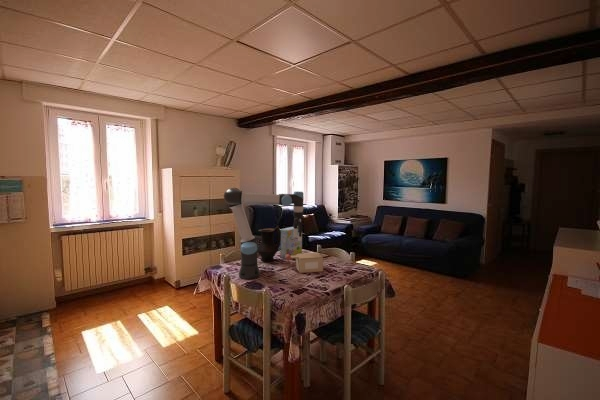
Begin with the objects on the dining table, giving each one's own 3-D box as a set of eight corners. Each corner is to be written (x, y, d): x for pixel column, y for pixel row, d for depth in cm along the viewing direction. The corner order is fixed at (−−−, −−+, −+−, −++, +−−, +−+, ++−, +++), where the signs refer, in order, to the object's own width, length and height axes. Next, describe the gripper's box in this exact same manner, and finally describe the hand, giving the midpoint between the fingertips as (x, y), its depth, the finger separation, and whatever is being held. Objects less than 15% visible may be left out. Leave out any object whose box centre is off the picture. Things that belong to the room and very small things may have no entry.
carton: (299, 272, 213) (299, 259, 212) (295, 267, 226) (295, 254, 226) (323, 271, 217) (323, 258, 216) (317, 265, 231) (317, 253, 230)
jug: (252, 263, 237) (251, 227, 234) (261, 256, 254) (261, 223, 252) (276, 265, 231) (275, 228, 228) (284, 258, 248) (283, 224, 246)
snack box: (287, 259, 246) (287, 230, 244) (280, 257, 251) (279, 229, 249) (302, 254, 263) (302, 226, 261) (295, 252, 268) (295, 225, 266)
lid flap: (287, 262, 210) (287, 257, 210) (284, 257, 223) (284, 252, 223) (322, 259, 217) (322, 255, 216) (317, 255, 229) (317, 250, 229)
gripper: (307, 213, 209) (306, 242, 211) (298, 209, 233) (298, 235, 235) (297, 213, 207) (296, 242, 209) (289, 209, 231) (289, 235, 233)
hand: (297, 238), depth 222 cm, fingers open, 13 cm apart
